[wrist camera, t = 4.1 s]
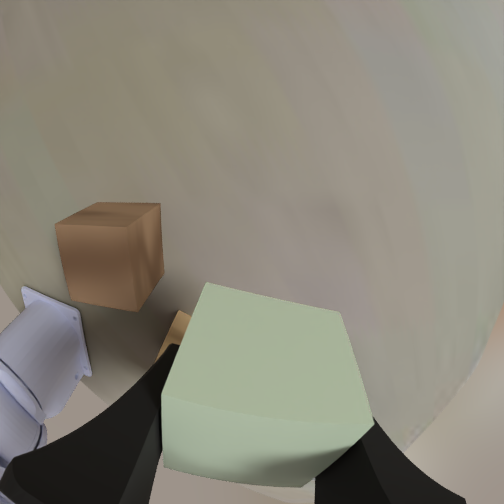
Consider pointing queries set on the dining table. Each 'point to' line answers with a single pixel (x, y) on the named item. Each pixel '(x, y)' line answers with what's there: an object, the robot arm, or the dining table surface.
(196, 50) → the dining table surface
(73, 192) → the dining table surface
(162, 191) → the dining table surface
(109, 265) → the walnut block
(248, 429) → the sage block
